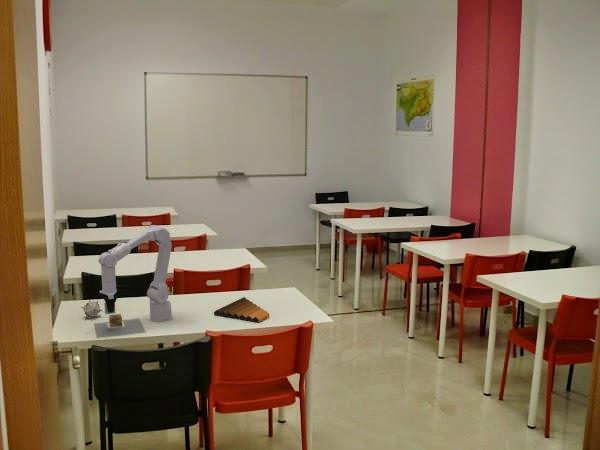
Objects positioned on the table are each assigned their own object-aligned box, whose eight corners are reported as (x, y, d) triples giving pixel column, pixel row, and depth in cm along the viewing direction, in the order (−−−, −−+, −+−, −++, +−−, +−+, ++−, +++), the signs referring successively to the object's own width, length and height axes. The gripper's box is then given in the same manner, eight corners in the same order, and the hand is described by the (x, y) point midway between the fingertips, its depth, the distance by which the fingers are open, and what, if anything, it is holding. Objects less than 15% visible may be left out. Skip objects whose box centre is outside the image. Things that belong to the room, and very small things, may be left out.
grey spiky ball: (91, 326, 280) (80, 313, 274) (85, 315, 286) (75, 303, 280) (108, 315, 283) (98, 302, 276) (102, 305, 289) (92, 292, 282)
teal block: (114, 310, 264) (114, 301, 264) (115, 313, 261) (114, 304, 260) (104, 311, 263) (104, 302, 262) (105, 314, 259) (105, 305, 258)
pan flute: (241, 302, 309) (213, 316, 286) (241, 296, 308) (213, 309, 286) (284, 309, 298) (259, 324, 276) (284, 303, 297) (259, 317, 275)
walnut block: (120, 322, 272) (120, 313, 271) (122, 325, 267) (121, 317, 267) (109, 323, 270) (108, 315, 269) (110, 327, 265) (110, 318, 265)
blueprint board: (139, 320, 278) (139, 318, 278) (145, 334, 260) (145, 331, 260) (93, 325, 271) (93, 323, 271) (96, 339, 253) (96, 337, 252)
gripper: (97, 277, 264) (99, 307, 267) (100, 285, 251) (102, 316, 253) (114, 275, 267) (115, 305, 269) (117, 283, 254) (119, 314, 256)
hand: (110, 310), depth 262 cm, fingers closed on teal block, 4 cm apart
